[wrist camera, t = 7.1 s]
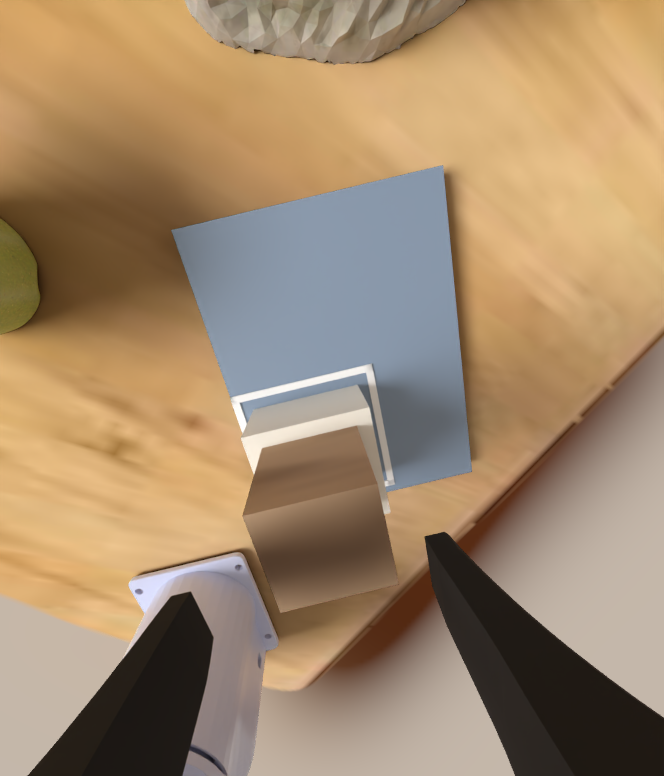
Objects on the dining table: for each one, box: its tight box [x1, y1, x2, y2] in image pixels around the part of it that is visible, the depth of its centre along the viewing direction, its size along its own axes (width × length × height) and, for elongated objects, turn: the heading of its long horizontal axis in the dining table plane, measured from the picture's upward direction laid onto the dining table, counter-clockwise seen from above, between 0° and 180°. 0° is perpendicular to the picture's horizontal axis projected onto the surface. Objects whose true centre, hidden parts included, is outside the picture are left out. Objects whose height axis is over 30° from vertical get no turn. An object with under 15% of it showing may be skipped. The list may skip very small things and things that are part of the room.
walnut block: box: [243, 425, 399, 613], centre depth 13 cm, size 4×4×4 cm
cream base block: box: [241, 385, 391, 514], centre depth 17 cm, size 6×6×4 cm
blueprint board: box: [171, 165, 472, 492], centre depth 18 cm, size 17×13×1 cm
